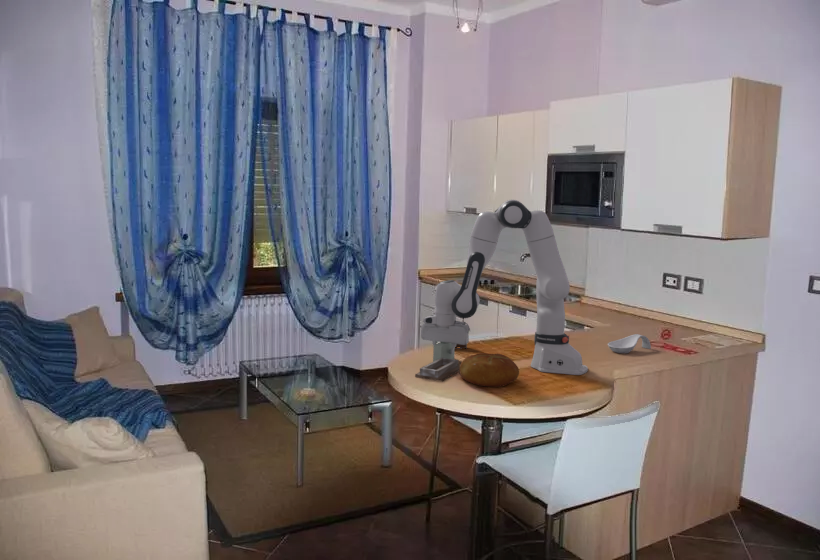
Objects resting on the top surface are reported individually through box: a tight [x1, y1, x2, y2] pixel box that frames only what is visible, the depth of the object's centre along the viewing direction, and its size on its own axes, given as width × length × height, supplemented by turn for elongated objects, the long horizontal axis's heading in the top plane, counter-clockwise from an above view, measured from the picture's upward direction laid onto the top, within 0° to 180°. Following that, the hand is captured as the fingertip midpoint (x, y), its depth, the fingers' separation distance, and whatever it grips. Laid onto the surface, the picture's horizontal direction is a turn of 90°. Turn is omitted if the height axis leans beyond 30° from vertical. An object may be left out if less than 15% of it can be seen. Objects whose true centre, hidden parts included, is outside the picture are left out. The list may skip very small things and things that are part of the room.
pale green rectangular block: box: [432, 342, 456, 362], centre depth 278 cm, size 4×14×8 cm, turn 154°
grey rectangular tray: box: [414, 358, 460, 382], centre depth 259 cm, size 11×20×4 cm, turn 154°
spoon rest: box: [607, 333, 652, 354], centre depth 307 cm, size 24×12×7 cm, turn 123°
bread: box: [459, 352, 520, 388], centre depth 250 cm, size 23×23×10 cm
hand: (444, 352), depth 278 cm, fingers open, 5 cm apart
